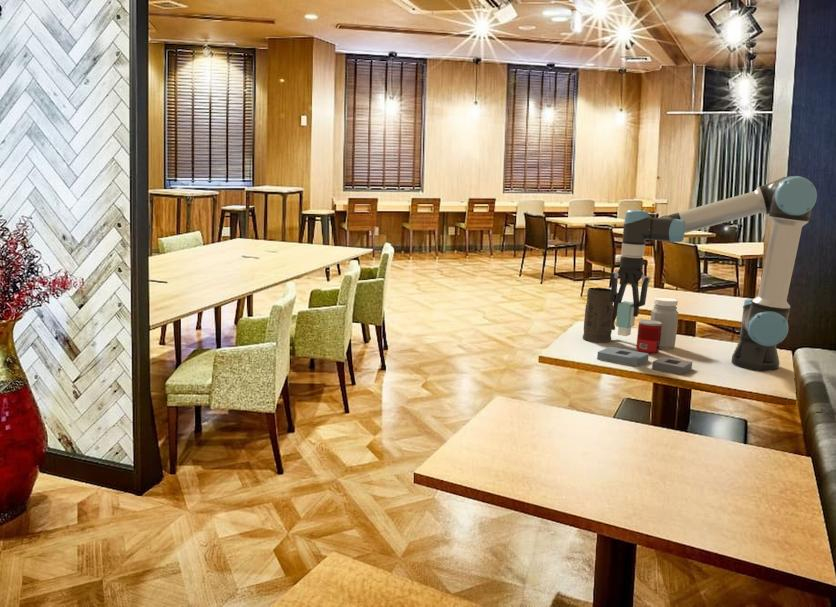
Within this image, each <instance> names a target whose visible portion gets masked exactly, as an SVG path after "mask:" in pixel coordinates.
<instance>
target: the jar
mask: <svg viewBox="0 0 836 607" xmlns="http://www.w3.org/2000/svg"><path fill="white" fill-rule="evenodd" d="M678 302H679V301H678V299H676V298H673V297H663V296H662V297H659V296H658V297H655V298H654V305H653V308H652V309H651V313H650V320H654V321H659V322H661V323H662V329H661V338H660V348H659V350H672V349H674V347H675V346H676V338H677V330H678V319H679V311H678V307H677V306H678Z"/></svg>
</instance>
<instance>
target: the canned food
mask: <svg viewBox="0 0 836 607" xmlns="http://www.w3.org/2000/svg"><path fill="white" fill-rule="evenodd" d="M661 329H662V323H661V322H659V321H654V320H651V319H640V320H639V321H638V327H637V337H636V348H635V349H636V351H637V352H643V353H648V354H649V355H656V354H658V353H659V352H660V349H659V348H660V338H661Z"/></svg>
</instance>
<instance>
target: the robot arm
mask: <svg viewBox="0 0 836 607" xmlns="http://www.w3.org/2000/svg"><path fill="white" fill-rule="evenodd" d="M817 198H818V192H817V189H816V186H815V185H814V184H813V182H812V181H810V180H809V179H808V178H806V177H804V176H799V175H788V176H783V177H781V178H778V179H776V180H774V181H771V182H768V183H766V184H764V185H761V186H758V187H756V189H755V190H754V191H753V190H752V191H750V192H747V193H744V194H743V193H742V194H740V195H735V196H732V197H729V198H726V199H725V198H724V199H721V200H717V201H715V202H710V203H707V204H703V205H700V206H696V207H693V208H689V209H686V210H682V211H679V212H675V213H671V214H668V215H667V214H666V215H662V216H659V217H654V216H653V217H652V216H650V215H649V211H647V210H640V209H628V210H626V211H625V214H624V215H625V216H624V221H623V229H622V242H621V250H620V251H621V252H620V254H621V256H620V262H619V269H618V270H617V271H616V272H610V274H609V275H610V279H611V280H610V281H611V284H610V289H611V297H610V301H611V302H613V304H614V303H615V313H616V314H617V312H618V303H621V302H623V298H624V294H625V291H626V288H627V285H628V284H629V285H631V289H632V290H631V291H632V301H633V303H634V306H633V307H631V316H630V325H629V326H632V327H634V326H635V325H636V324H635V321H636V318H637V317H638V316H639V311H640V307H644V306H645V305H646V301H647V292H648V286H649V283H650V281H651V277H650V276H647V275H644V272H643V269H644V261H645V260H644V256H645V250H646V241H647V240H648V241H660V242H671V243H681V242H683V241H684V239H685V234H687V233H690V232H695V231H697V230H703V229H705V228H710V227H713V226H716V225H720V224H724V223H727V222H732V221H735V220H740V219H742V218H746V217H751V216H753V215H754V216H755V215H758V214H762V215H768V218H769V219H770V221H771V223H772V225H771V230H770V234H769V238H768V244H767V249H766V254H765V260H764V263H763V264H764V265H763V269H762V274H761V278H760V279H761V280H760V283H759V289H758V294H757V296H755V297H754V298H746V299H745V300H744V302H743V305H742V317H741V325H740V333H739V341H738V342H737V344H736V345H737V346H736V347H735V349H734V351H733V354H732V355H731V364H733V365H735V366H737V367H740V368H744V369H749V370H753V371H765V370H767V371H769V370H771V371H777V370H779V368H780V358H779V353H778V349H777V345H778V344H780V343H782V342H783V341H784V340H785V339H786V338H787V336H788V333H789V323H788V321H789V316H790V310H791V305H790V304H789V302H788V301H787V300H788V295H789V290H790V285H791V280H792V276H793V272H794V267H795V263H796V262H795V261H796V257H797V252H798V248H799V243H800V238H801V233H802V230H803V229H802V228H803V227H804V226H805V225H806V224H808V223H809V221H810V218H811V212H812V209H813V207H814V206H815V204H816V203H817ZM618 278H620V280H621V281H620V283H619V285H620V286H619V289H618ZM639 281H641V282H642V284H641V289H640V292H639ZM617 293H618V295H617ZM616 297H617V298H616ZM615 322H617V319H615Z"/></svg>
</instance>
